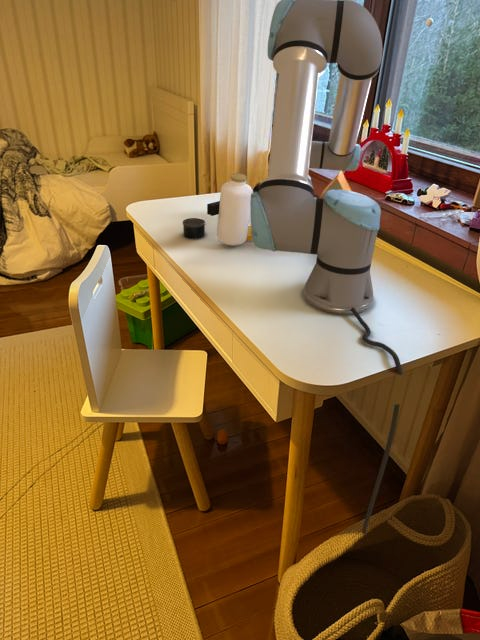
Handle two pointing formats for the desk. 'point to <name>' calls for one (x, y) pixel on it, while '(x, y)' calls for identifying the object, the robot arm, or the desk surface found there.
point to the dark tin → (194, 228)
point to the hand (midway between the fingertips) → (209, 210)
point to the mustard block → (249, 234)
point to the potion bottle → (234, 210)
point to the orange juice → (337, 184)
